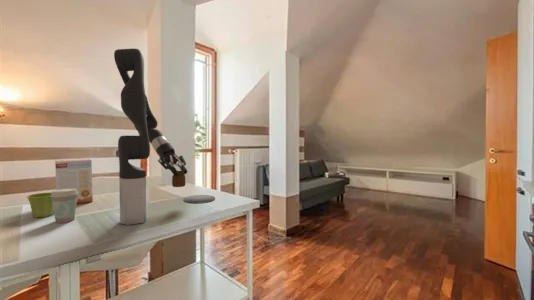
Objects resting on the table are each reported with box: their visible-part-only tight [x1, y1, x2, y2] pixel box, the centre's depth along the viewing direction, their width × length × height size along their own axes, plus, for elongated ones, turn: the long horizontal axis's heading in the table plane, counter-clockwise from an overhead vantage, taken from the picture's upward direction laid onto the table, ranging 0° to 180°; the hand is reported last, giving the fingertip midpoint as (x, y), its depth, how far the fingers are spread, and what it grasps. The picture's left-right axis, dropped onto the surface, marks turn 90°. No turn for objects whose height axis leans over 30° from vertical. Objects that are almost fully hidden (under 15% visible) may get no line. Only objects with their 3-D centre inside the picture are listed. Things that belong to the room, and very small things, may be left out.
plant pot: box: [26, 192, 54, 218], centre depth 108 cm, size 9×9×9 cm
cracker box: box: [54, 158, 94, 205], centre depth 128 cm, size 14×6×21 cm, turn 130°
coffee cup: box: [50, 188, 78, 224], centre depth 103 cm, size 8×9×12 cm
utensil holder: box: [171, 161, 186, 188], centre depth 125 cm, size 6×6×12 cm
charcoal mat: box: [183, 194, 216, 204], centre depth 140 cm, size 16×16×1 cm
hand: (181, 173), depth 124 cm, fingers closed on utensil holder, 5 cm apart
